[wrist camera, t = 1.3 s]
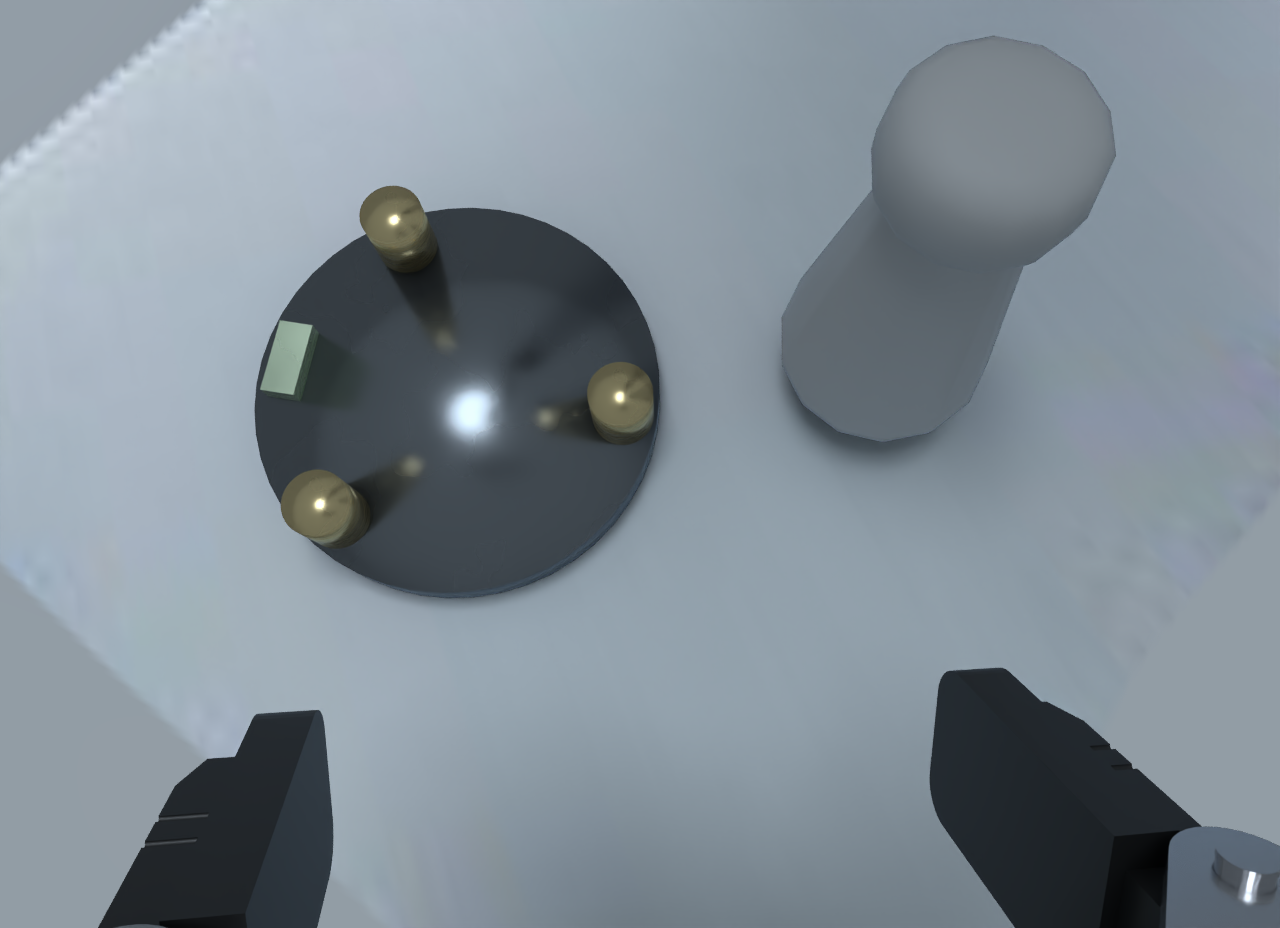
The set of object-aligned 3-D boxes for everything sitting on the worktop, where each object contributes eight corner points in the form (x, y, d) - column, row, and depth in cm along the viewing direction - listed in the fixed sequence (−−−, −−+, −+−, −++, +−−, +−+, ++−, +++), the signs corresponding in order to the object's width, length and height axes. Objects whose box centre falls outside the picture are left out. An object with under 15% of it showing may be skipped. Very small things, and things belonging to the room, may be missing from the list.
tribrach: (325, 203, 32) (289, 147, 29) (687, 255, 31) (690, 202, 28) (224, 561, 29) (170, 541, 25) (622, 629, 28) (617, 617, 25)
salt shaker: (819, 255, 31) (927, -69, 18) (988, 330, 30) (1223, 46, 17) (740, 411, 29) (796, 178, 17) (914, 494, 29) (1110, 314, 16)
